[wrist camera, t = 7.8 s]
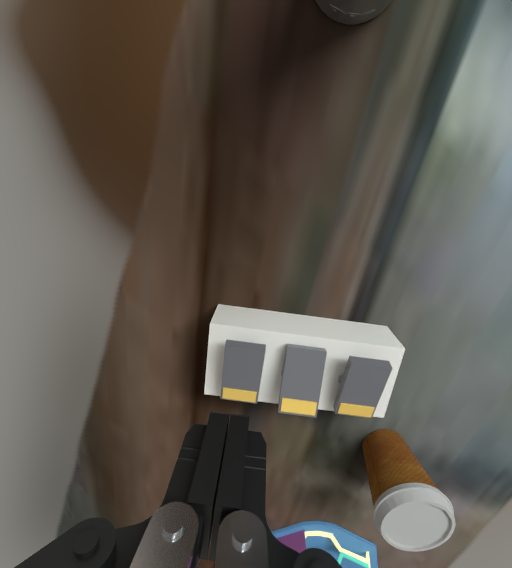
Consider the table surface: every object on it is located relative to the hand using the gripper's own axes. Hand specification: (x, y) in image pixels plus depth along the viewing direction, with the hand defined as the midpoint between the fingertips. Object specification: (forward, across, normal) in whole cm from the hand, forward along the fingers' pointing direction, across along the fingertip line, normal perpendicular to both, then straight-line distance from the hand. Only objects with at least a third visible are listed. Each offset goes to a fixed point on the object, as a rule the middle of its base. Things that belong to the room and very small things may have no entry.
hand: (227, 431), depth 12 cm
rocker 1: (+21, 0, +12) cm, 24 cm away
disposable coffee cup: (+29, -23, +27) cm, 46 cm away
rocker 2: (+21, -7, +12) cm, 25 cm away
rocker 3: (+21, -14, +12) cm, 28 cm away
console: (+29, -7, +12) cm, 32 cm away
